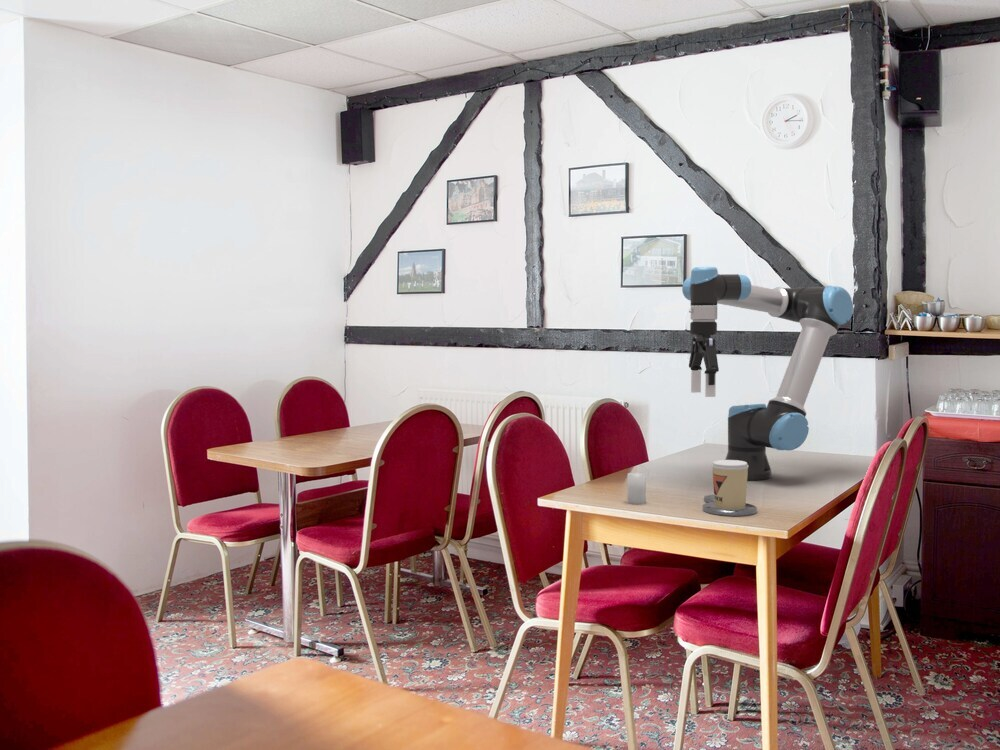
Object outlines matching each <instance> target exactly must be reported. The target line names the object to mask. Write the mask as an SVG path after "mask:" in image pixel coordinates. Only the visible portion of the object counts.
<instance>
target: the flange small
mask: <svg viewBox="0 0 1000 750" xmlns="http://www.w3.org/2000/svg"><path fill="white" fill-rule="evenodd" d="M703 502H704V503H709V502H715V498H714V494H707V495H704V496H703Z"/></svg>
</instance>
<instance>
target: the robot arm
mask: <svg viewBox="0 0 1000 750" xmlns="http://www.w3.org/2000/svg"><path fill="white" fill-rule="evenodd" d="M681 291H682V294H683V296H684V298H685V299H686V300H688V301H690V308H689V309H688V313H690V320H692V321H691V322H689V323H690V325H689V332H690V334H691V335H695V336H693V337H692V338H691V340H692V341H691V349H690V355H689V363H688V367H689V368H690V372H691V374H690V375H691V376H690V393H694V394H696V393H701V391H702V370H703V368H702V366H701V365H702V364H703V363H702V362H704V366H705V370H704V375H705V382H704V383H705V385H704V387H705V389H704V393H705V394H704V396H705V397H706V398H715V397H716V377H717V376H716V374H717V373H718V372H719V368H720V367H719V362H718V361H719V360H718V355H717V348H716V338H715V337H713V338H711V336H712V335H713V336H715V335H717V333H718V322H717V321H716V320H717V319H718V305H724V306H729V307H734V308H741V309H747V310H750V311H751V310H752V311H757V312H764V313H768V315H770V317H773V318H777V319H778V318H779V319H784V320H787V321H790V322H795V323H798V324H799V325H800V326H801V331H800V333H799V336H798V338H797V341H796V343H795V345H794V349H793V352H792V354H791V356H790V359H789V361H788V365H787V367H786V369H785V373H784V375H783V377H782V380H781V383H780V386H779V389H778V391H777V394H776V395H775V397H773V398H771V399H770V400H768V402H767V405H766V404H765V403H757V404H756V403H755V404H742V405H741V404H739V405H731V407H729V409H728V416H727V453H726V456H725V459H724V460H739V461H745V462H747V465H748V475H747V481H761V480H768V479H771V478H772V469H771V465H770V462H769V459H768V456H767V453H766V450H767V449H766V448H769V449H773V450H774V449H775V450H777V451H794V450H796V449H798V448H800V447H801V446H802V445H803V444H804V443H805V441H806V439H807V437H808V436H809V431H810V427H809V426H808V425H809V421H808V419H807V411H806V409H805V407H804V406H805V404H806V401H807V399H808V396H809V393H810V391H811V388H812V386H813V382H814V381H815V380H814V379H815V377H816V376H817V375H816V374H817V372H818V369H819V367H820V364H821V361H822V359H823V356H824V353H825V350H826V348H827V345H828V343H829V340H830V337H833V336H835V335H837V333H838V330H839V328H840V325H845V324H846V323H849V322H850V320H851V318H852V316H853V313H854V312H853V311H854V304H853V300H852V297H851V294H850V293H849V292H848V291H847V290H846V289H845V288H844V287H841V286H835V285H828V286H801V287H791V288H790V287H782V286H781V287H780V286H775V287H774V288H769V287H763V286H759V285H754V284H753V285H752V282H751V280H750V278H749V277H748V276H747V275H745V274H739V273H737V274H735V273H733V274H728V273H727V274H726V273H725V274H720V273H719V271H718V268H717V267H715V266H698V267H697V266H696V267H693V268H692V269H691V271H690V277H687V278H686V279H685V280H684V281H683V284H682V290H681Z"/></svg>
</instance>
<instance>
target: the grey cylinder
mask: <svg viewBox="0 0 1000 750" xmlns="http://www.w3.org/2000/svg"><path fill="white" fill-rule="evenodd" d="M646 491H647V474H646V473H644V472H639V471H638V472H629V473H627V503H628V504H630V505H645V504H646V502H647V501H646V499H647V494H646V493H647V492H646Z"/></svg>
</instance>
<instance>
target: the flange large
mask: <svg viewBox="0 0 1000 750" xmlns="http://www.w3.org/2000/svg"><path fill="white" fill-rule="evenodd" d="M702 511H703V512H704V513H707V514H710V515H713V516H721V517H746V516H747V517H748V516H752V515H755V514H757V512H758V508H757V506H756V505H754V504H751V503H745V509H743V510H735V511H730V510H721V509H717V508H716V507H715V502H709V503H707V502H704V504H702Z"/></svg>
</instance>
